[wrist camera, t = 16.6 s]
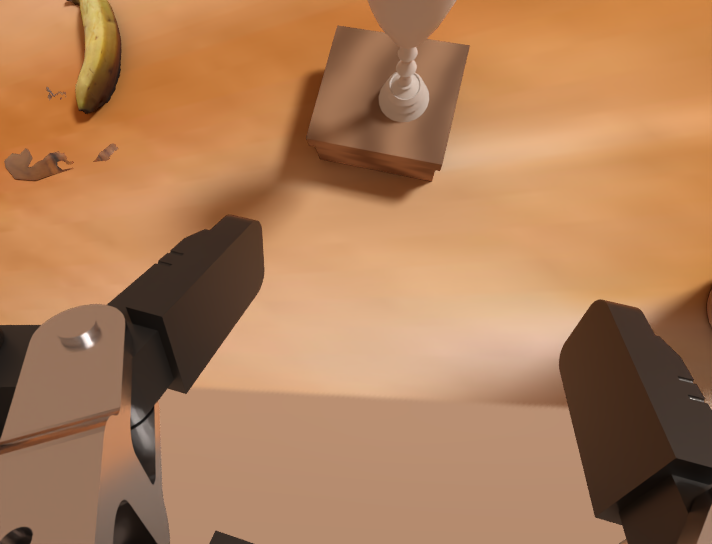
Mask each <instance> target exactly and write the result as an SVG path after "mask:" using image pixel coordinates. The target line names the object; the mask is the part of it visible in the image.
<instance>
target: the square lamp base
mask: <svg viewBox="0 0 712 544" xmlns="http://www.w3.org/2000/svg"><path fill="white" fill-rule="evenodd" d="M469 46H470V45H463V44H456V43H450V42H443V41H437V40H430V39H426V40H425V41H424V42H423V43H421V44H420V45H419V46H417V47H416V48H417V50H418V54H417V56H416V58H415V59H414V61H415V62H416V65H417V69H416V71H415V73H417V74H418V75H419V76H420V77H421V78H422V80H423V81H424V84H425V85H426V87H427V89H428V91H429V103H428V106H427V108H426V110H425V111H424V113H423V114H422V115H421V116H419V117H418V118H417V119H415V120H412V121H410V122H397V121H393V120H391V119H390V118H388V117H387V116H386V115H385V114H384V113H383V112H382V110H381V108H380V105H379V94H380V90H381V88H382V87H383V85H384V84H385V83H386V82H387V80H388V79H389V78H390V76H391V75H393V74H394V73H395V72H397V71H396V66H397V64H398V62H399V61H400V59H399V57H398V50H399V49H400V47H399V46H397V45H396V44H395V43H394V42H393V41H392V40H391V38H390V37H389V36H388V35H387V34H386V33H384V32H377V31H370V30H364V29H357V28H350V27H344V26H337V29H336V32H335V36H334V39H333V43H332V47H331V50H330V54H329V57H328V61H327V65H326V68H325V72H324V75H323V79H322V82H321V86H320V90H319V93H318V97H317V100H316V104H315V108H314V111H313V115H312V118H311V122H310V125H309V129H308V133H307V136H306V140H307V142H308V144H309V146H314V147H315V148H316V150H317V153H318V155H319V157H320V159H322V160H327V161H332V162H337V163H342V164H347V165H352V166H357V167H362V168H367V169H372V170H377V171H382V172H387V173H392V174H397V175H402V176H407V177H413V178H418V179H423V180H428V181H432V179H433V176H434V172H435V170H437V171H440V170H441V167H442V163H443V159H444V154H445V150H446V146H447V141H448V137H449V133H450V128H451V124H452V120H453V116H454V111H455V107H456V103H457V98H458V94H459V90H460V85H461V81H462V77H463V72H464V68H465V64H466V59H467V55H468V51H469Z"/></svg>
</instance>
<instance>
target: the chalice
mask: <svg viewBox="0 0 712 544" xmlns="http://www.w3.org/2000/svg"><path fill="white" fill-rule="evenodd" d="M455 2H456V0H368V3H369V5H370V8H371V10H372V12H373V14H374V16H375V18H376V20H377V22H378V23H379V25H380V27H381V28H382V29H383V30H384V32H385V33H386V34H387V35H388V36H389V37H390V38H391V40H392V41H393V42H394V43H395V44H396V45H397V46H399V47H400V49H399V50H398V57H399V59H400V61H399V62H398V64H397V66H396V71H397V72H395V73H394V74H393V75H391V76H390V78H389V79H388V80H387V82H386V83H385V84H384V85H383V87H382V88H381V90H380V94H379V105H380V108H381V110H382V112H383V113H384V114H385V115H386V116H387V117H388V118H390V119H391V120H393V121H397V122H410V121H412V120H415V119H417V118H418V117H419V116H421V115H422V114H423V113H424V111H425V110H426V108H427V106H428V103H429V91H428V89H427V87H426V85H425V84H424V81H423V80H422V78H421V77H420V76H419V75H418V74H417V73H415V71H416V69H417V65H416V62H415V61H414V59H415V58H416V56H417V54H418V50H417V48H416V47H417V46H419V45H420V44H421V43H423V42H424V41H425V40H426V39H427V38H428V37H429V36H430V35H431V34H432V33H433V32H434V31H435V30H436V29H437V28H438V26H439V25H440V24H441V22H442V21H443V19H444V18H445V16H446V15H447V13H448V12H449V11H450V9H451V8H452V6H453V5H454V3H455Z"/></svg>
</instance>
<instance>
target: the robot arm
mask: <svg viewBox="0 0 712 544" xmlns="http://www.w3.org/2000/svg"><path fill="white" fill-rule="evenodd" d="M263 278H264V255H263V239H262V227H261V224H260V222H259V221H256V220H251V219H247V218H243V217H238V216H234V215H227V216H225V217H224V218H223V219H222V220H221V221H220V222H218V223H217V224H216V225H215V226H214V227H213V228H212V229H211V230H206V229H204V230H202V231H200V232H198V233H195V234H193V235H191V236H188V237H186V238H184V239H183V240H182V241H181V242H180V243H179V244H177V245H176V246H175V247H174V248H173V249H172V250H171V252H170V253H167V254H166V255H165V256H163V257H162V258H161V259H160V260H159V261H158V264H154V265H153V266H152V267H151V268H149V269H148V270H147V271H146V272H145V273H144V274H142V275H141V276H140V277H139V278H138V279H137V280H135V281H134V282H133V283H132V284H131V285H130V286H128V287H127V288H126V289H125V290H124V291H123V292H121V293H120V294H119V295H118V296H117V297H115V298H114V299H113V300H112V301H111V302H110V303H108V304H107V305H102V304H90V305H83V306H79V307H75V308H71V309H68V310H66V311H63V312H61V313H59V314H57V315H55V316H53V317H52V318H50V319H49V320H47V321H46V322H45V323H43V324H42V325H0V544H170V535H169V525H168V518H167V513H166V508H165V505H164V499H163V492H162V472H161V438H160V408H159V403H158V400H159V399H160V397H161V396H162V395H163V393H164V392H165V391H166V390H167V388H168V389H171V390H175V391H178V392H181V393H185V394H187V392H188V391H189V389H190V388H191V387H192V385H193V384H194V382H195V381H196V379H197V378H198V377H199V375H200V374H201V372H202V371H203V370H204V368H205V367H206V365H207V364H208V363H209V361H210V360H211V358H212V357H213V355H214V354H215V353H216V351H217V350H218V348H219V347H220V346H221V344H222V343H223V341H224V340H225V339H226V337H227V336H228V334H229V333H230V332H231V330H232V329H233V327H234V326H235V324H236V323H237V322H238V320H239V319H240V317H241V316H242V315H243V313H244V312H245V310H246V309H247V308H248V306H249V305H250V303H251V302H252V300H253V299H254V298H255V296H256V295H257V293H258V292H259V290H260V288H261V285H262V282H263ZM707 313H708V318H709V322H710V325H711V327H712V289H711V291H710V294H709V297H708V301H707ZM559 369H560V374H561V378H562V382H563V386H564V390H565V395H566V399H567V403H568V407H569V411H570V415H571V419H572V424H573V428H574V432H575V436H576V440H577V444H578V448H579V452H580V457H581V460H582V465H583V469H584V473H585V477H586V481H587V486H588V490H589V494H590V498H591V502H592V506H593V510H594V515H595V517H596V518H599V519H603V520H606V521H609V522H613V523H616V524H619V525H623V529H624V532H625V536H626V539H625V540H623V541H622V542H621V543H619V544H712V410H711V408H710V407H709V405H708V404H707V403H704V399H705V398H704V396H703V395H702V393H701V391H700V389H699V388H698V386H697V384H693V380H694V379H693V378H692V376H691V374H690V372H689V371H688V369H687V367H686V366H685V364H684V362H683V360H682V359H681V357H680V356H679V355H678V354H677V353H676V352H675V351H674V350H673V349H672V348H671V347H670V346H669V345H668V344H667V343H666V342H665V341H664V340H663V339H662V338H661V337H660V336H655V334H654V332H653V330H652V329H651V327H650V325H649V323H648V321H647V319H646V318H645V316H644V314H643V312H642V311H641V310H640V309H638V308H636V307H632V306H627V305H623V304H618V303H614V302H610V301H605V300H597V301H595V302H594V303H593V304H592V305H591V306H590V307H589V309H588V310H587V311H586V313H585V314H584V316H583V317H582V319H581V320H580V322H579V323H578V325H577V326H576V327H575V329H574V330H573V332H572V333H571V335H570V336H569V338H568V339H567V341H566V342H565V344H564V345H563V348H562V350H561V353H560V359H559ZM210 544H253V543H250V542H247V541H244V540H241V539H238V538H236V537H233V536H230V535H227V534H224V533H221V532H218V531H215V533H214V535H213V537H212V539H211V541H210Z"/></svg>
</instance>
